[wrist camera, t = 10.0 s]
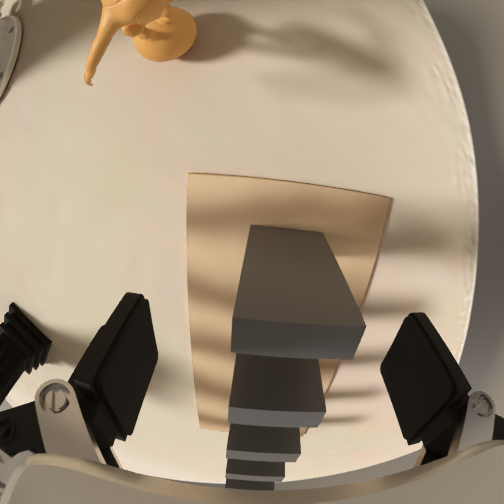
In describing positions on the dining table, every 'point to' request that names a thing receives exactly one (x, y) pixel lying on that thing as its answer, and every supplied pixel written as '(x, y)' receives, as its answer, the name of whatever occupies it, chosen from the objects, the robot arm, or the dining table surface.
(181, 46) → the figurine
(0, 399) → the chess piece
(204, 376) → the cork mat
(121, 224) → the dining table surface
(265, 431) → the domino
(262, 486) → the domino
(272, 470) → the domino
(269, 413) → the domino
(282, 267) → the domino
